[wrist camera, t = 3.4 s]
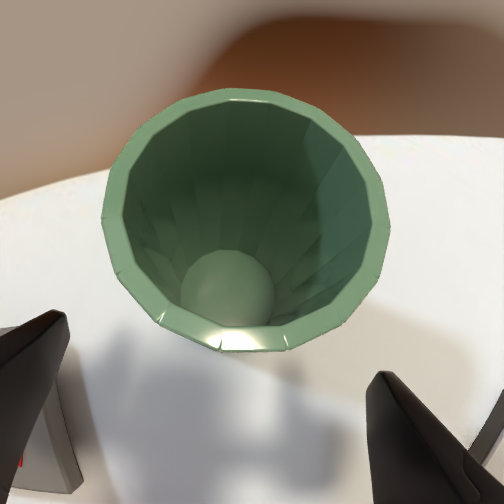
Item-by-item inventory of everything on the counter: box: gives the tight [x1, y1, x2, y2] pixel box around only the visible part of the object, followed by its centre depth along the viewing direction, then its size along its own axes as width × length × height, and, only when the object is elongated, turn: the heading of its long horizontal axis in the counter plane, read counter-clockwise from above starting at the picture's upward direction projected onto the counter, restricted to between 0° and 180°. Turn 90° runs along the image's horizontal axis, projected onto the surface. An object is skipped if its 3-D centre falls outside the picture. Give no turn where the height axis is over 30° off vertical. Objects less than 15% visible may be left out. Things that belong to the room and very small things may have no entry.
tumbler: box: [101, 88, 391, 352], centre depth 13 cm, size 6×6×13 cm
